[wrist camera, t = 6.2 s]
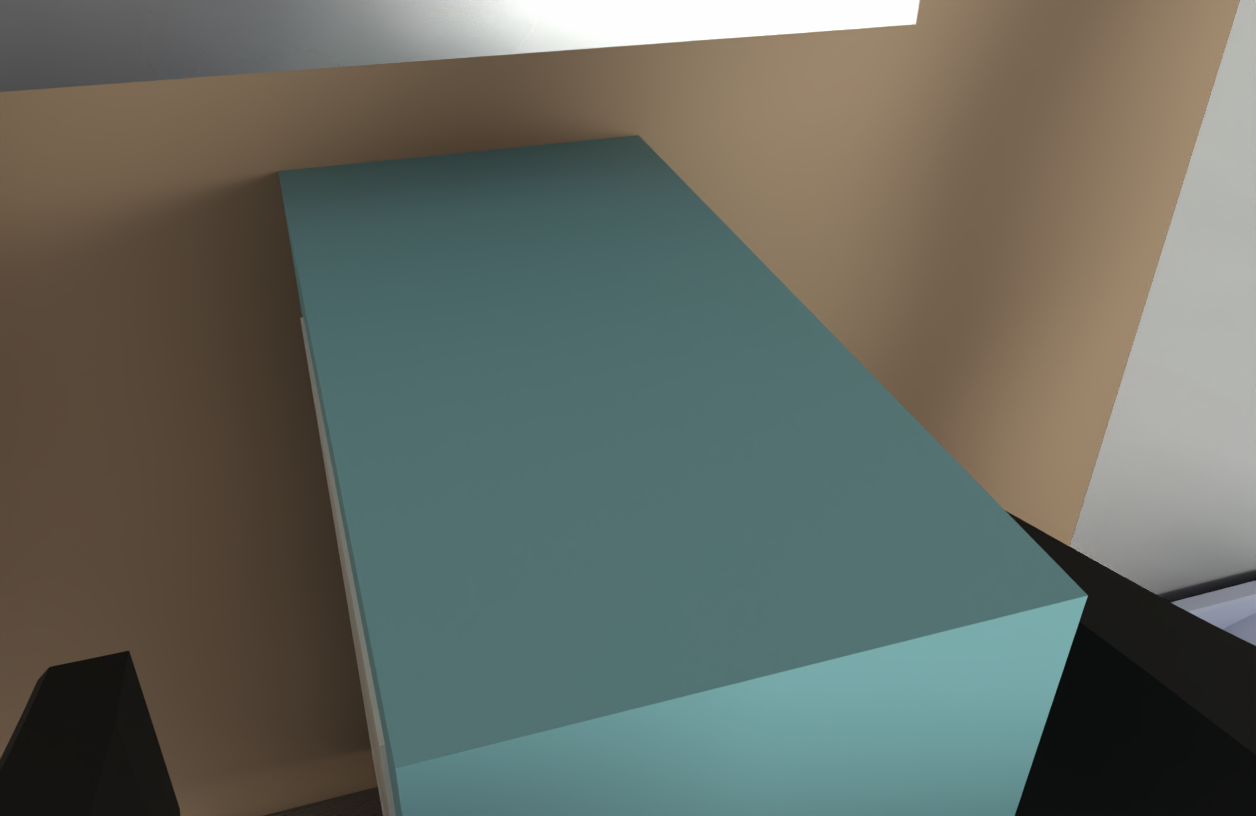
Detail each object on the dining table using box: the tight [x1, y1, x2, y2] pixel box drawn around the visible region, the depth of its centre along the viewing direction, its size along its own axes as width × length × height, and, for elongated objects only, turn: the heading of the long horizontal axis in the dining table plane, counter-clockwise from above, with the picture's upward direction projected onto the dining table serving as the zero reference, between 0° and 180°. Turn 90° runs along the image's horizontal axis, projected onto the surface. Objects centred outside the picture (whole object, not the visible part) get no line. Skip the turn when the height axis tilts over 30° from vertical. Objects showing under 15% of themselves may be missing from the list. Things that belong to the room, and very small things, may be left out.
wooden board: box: [0, 0, 1240, 816], centre depth 13 cm, size 18×14×3 cm
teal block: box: [278, 135, 1088, 816], centre depth 10 cm, size 4×8×7 cm, turn 179°
